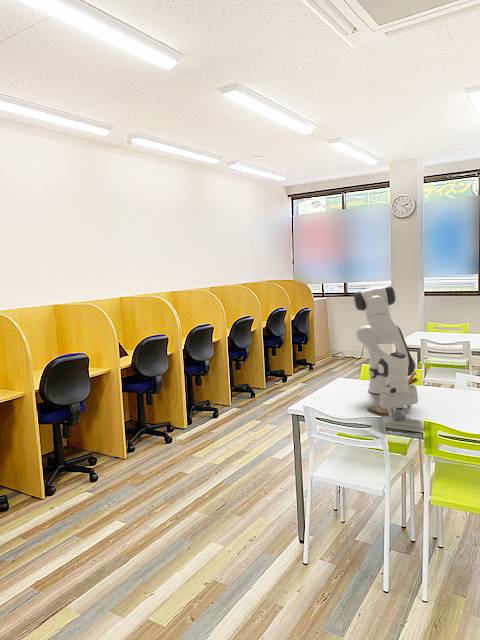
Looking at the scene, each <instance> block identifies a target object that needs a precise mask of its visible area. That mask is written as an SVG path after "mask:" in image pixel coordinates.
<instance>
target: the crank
mask: <svg viewBox="0 0 480 640" xmlns="http://www.w3.org/2000/svg"><path fill="white" fill-rule="evenodd" d="M414 375H416V376H417V373H416V371H414V372H413V373H412V374H411V375H410V376H407V377H408V385H410V384H411V383H412V382H414V381H413V380H414V379H413V377H414Z"/></svg>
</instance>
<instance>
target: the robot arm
mask: <svg viewBox="0 0 480 640" xmlns="http://www.w3.org/2000/svg"><path fill="white" fill-rule="evenodd" d="M396 299H397V294H396V291H395V289H394V287H392V286H391V285H385V286H375V287H371V288H367V289H364V290H362V291H361V290H358V291H357V292H355V293H354V294H353V298H352V302H353V305H354V307H355V308H356V310H358V311H362V312H365V318H366V321H367V322H368V324H369V325H368V324H367V325H363V326H360V327H358V329H357V331H356V334H355V335H356V339H357V341H358V342H359V343H360V344H361V345H363V346H364V347H365V349H366V351H367V353H368V357H369V368H368V369H369V383H368V389H367V392H369V393H370V394H379V405H380V407H381V408H383V409H387V411H388V413H389V415H388V417H390V418H393V417H394V413H392V412H391V410H392V408H394V407H400V406H402V407H405V406H406V408H407V409H406V415H410V412H411V409H412V407H413V405H417V404H418V402H419V397H418V391H417V390H418V389H417V386H416V385H414V384H408V377H407V376H410V375H411V374H412V373H413V372H415V370H416V363H415V360H414V359H413V357H412V355H411V353H410V350H409V348H408V345H407V342H406V341H405V338H404V335H403V331H402V329H401V328H400V327H399V325H396V324H395V323H394V321H393V319H392V317H391V313H390V309H389V306H391V305H394V304H395V302H396ZM393 344H394V346H395V349H396V352H394V351H393V352H391V353H390V354H389V353H388V352H387V351H386V350H383V349H381V348H380V346H379V345H393Z"/></svg>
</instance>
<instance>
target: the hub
mask: <svg viewBox="0 0 480 640" xmlns="http://www.w3.org/2000/svg"><path fill="white" fill-rule="evenodd" d="M403 407H404V406H402V407H394V408H393V413H394V417H392V419H393V420H395V421H406V419H407V418H406V417H407V416H406V415H407V414H406V408H407V407H405V408H403Z"/></svg>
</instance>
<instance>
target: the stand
mask: <svg viewBox="0 0 480 640" xmlns="http://www.w3.org/2000/svg"><path fill="white" fill-rule="evenodd" d="M400 407H403V408H406V409H407V407H405V406H400ZM366 409H367V411H369V412H371V413H373V414H375V415H376V414H377V415H379V416H381V415H383V416H384V417H385V416H389V413H388V411H387V409H383V408H381V407H380V404H379V405H373V406H368V407H367V408H366ZM391 412H392V413H393V408H392V410H391ZM383 416H382V417H383Z"/></svg>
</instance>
